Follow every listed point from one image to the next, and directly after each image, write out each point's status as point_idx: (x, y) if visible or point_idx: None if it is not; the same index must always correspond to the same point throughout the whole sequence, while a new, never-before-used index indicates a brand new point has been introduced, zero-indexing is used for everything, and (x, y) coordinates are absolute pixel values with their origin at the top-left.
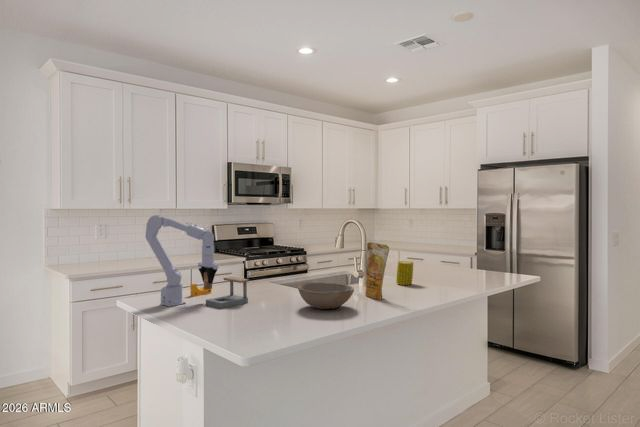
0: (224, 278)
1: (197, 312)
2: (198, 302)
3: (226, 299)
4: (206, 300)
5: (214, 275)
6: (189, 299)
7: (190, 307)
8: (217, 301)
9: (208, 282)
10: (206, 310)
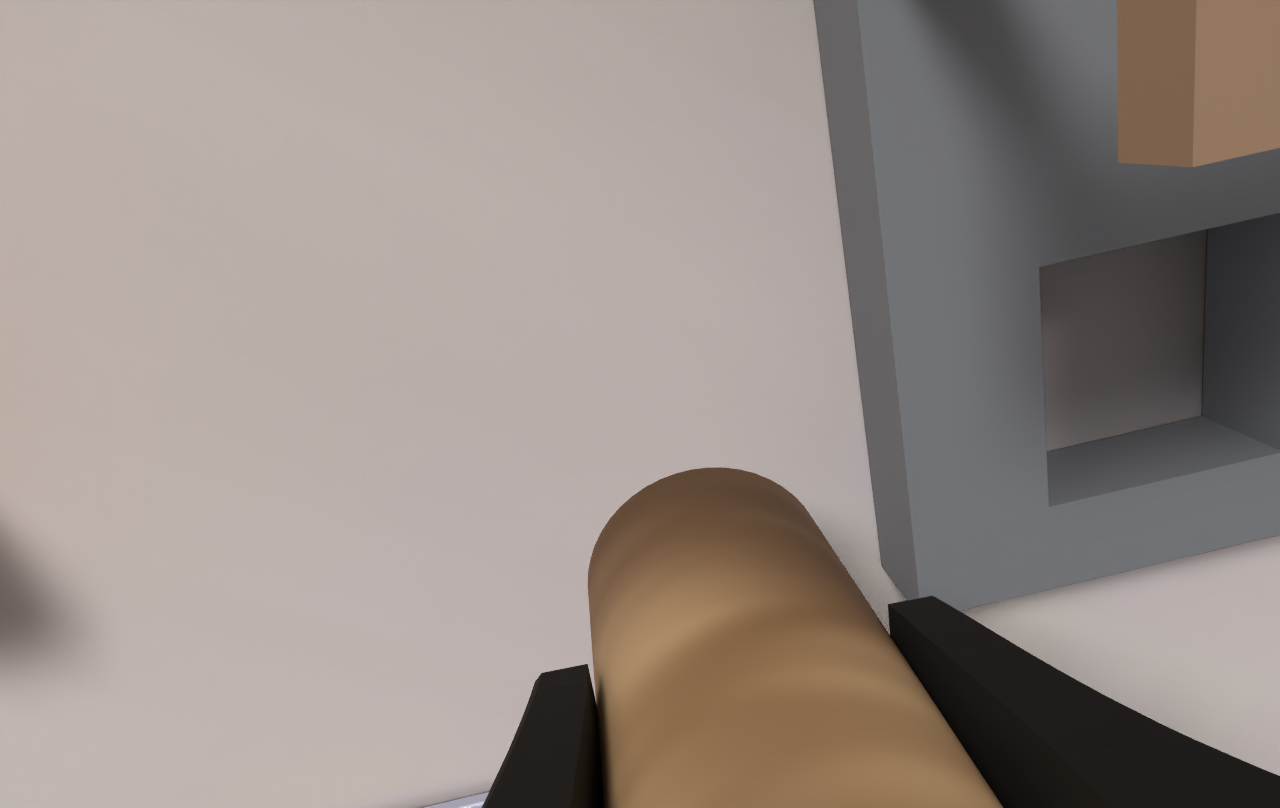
0: (1261, 146)
1: None
2: None
3: (1150, 238)
4: None
5: (1210, 758)
6: (211, 635)
7: None
8: (1224, 503)
9: None
10: (1211, 679)
